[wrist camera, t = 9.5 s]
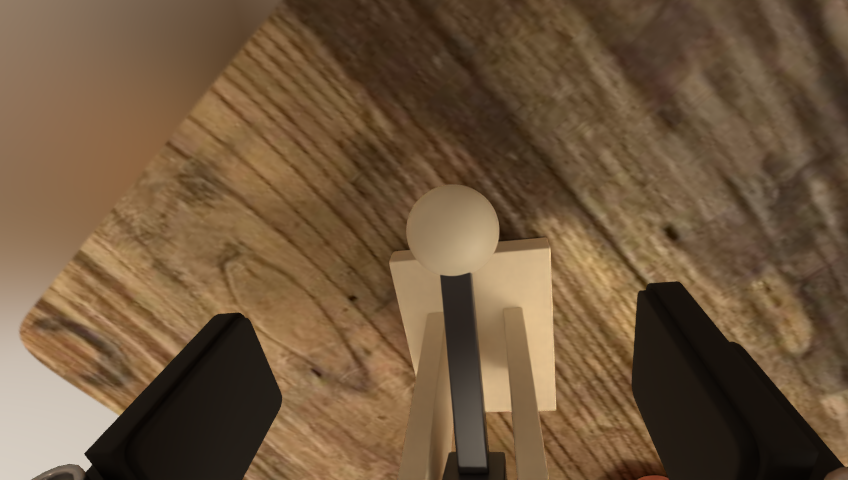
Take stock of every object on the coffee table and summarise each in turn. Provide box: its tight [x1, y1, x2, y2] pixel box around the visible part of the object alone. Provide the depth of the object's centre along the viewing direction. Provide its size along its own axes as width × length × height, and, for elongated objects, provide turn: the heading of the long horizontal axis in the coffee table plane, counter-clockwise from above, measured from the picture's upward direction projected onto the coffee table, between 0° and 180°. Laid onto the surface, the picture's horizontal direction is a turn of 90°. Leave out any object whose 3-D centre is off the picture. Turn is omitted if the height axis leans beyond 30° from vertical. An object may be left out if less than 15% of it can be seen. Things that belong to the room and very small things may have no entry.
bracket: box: [389, 237, 556, 480], centre depth 18 cm, size 11×8×12 cm
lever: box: [406, 184, 507, 480], centre depth 15 cm, size 13×3×3 cm, turn 9°
